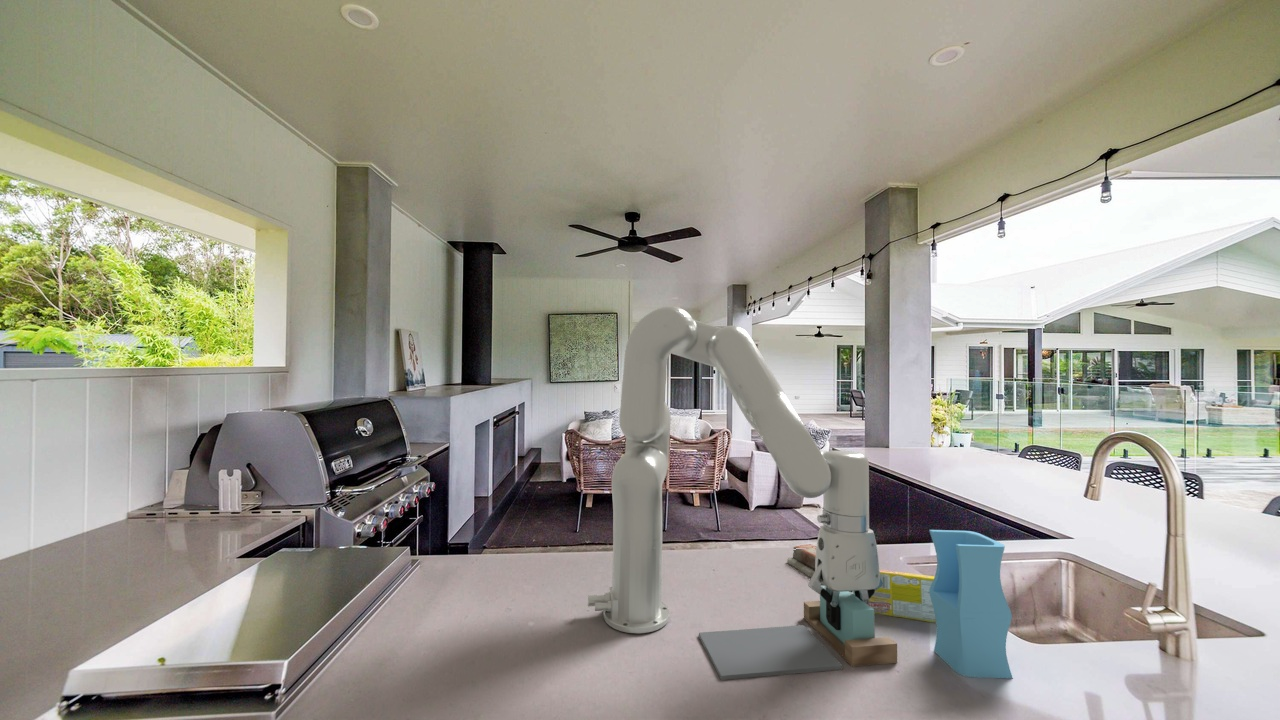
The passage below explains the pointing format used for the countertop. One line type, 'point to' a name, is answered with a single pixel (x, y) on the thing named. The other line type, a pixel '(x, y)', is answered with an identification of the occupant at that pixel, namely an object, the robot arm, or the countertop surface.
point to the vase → (970, 604)
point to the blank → (850, 618)
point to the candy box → (904, 596)
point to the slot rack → (853, 642)
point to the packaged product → (804, 559)
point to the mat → (766, 652)
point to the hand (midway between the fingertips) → (845, 624)
